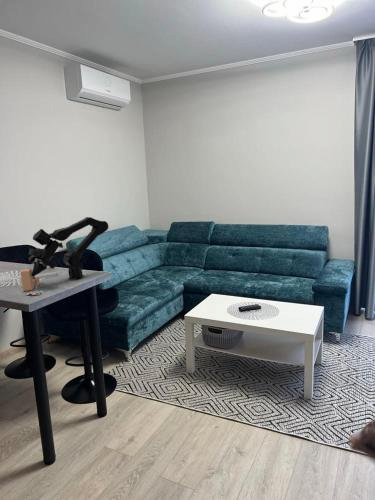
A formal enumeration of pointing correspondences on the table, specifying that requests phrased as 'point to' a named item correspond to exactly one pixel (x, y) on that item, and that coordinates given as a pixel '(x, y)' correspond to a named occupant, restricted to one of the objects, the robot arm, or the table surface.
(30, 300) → the table surface
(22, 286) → the keeper
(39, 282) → the pintle
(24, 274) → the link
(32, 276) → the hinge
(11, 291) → the table surface
